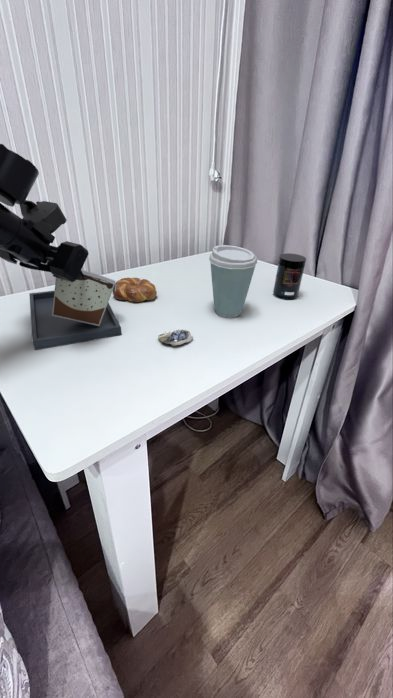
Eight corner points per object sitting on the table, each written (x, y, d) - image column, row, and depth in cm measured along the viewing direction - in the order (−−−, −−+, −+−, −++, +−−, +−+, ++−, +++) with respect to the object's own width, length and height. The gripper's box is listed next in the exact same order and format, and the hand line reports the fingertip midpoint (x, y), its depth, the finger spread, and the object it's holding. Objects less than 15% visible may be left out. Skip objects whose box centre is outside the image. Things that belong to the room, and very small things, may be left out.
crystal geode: (152, 342, 67) (151, 334, 66) (171, 326, 73) (171, 318, 72) (181, 351, 64) (181, 343, 63) (199, 333, 70) (199, 326, 69)
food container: (103, 321, 76) (114, 279, 74) (106, 327, 70) (118, 281, 68) (45, 308, 71) (55, 262, 69) (43, 313, 65) (54, 263, 63)
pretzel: (166, 294, 87) (166, 280, 85) (140, 308, 80) (139, 294, 78) (132, 283, 93) (131, 270, 91) (103, 296, 85) (102, 282, 83)
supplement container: (292, 290, 93) (300, 253, 88) (301, 300, 88) (310, 261, 82) (269, 290, 92) (275, 253, 87) (277, 300, 87) (284, 261, 81)
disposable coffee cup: (250, 305, 84) (258, 245, 76) (249, 325, 75) (259, 259, 67) (208, 301, 85) (212, 241, 77) (203, 320, 76) (206, 255, 68)
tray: (34, 350, 63) (32, 341, 62) (31, 300, 81) (29, 293, 80) (121, 334, 69) (120, 326, 68) (100, 292, 87) (99, 285, 86)
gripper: (69, 193, 50) (124, 248, 64) (-7, 180, 57) (58, 232, 72) (37, 258, 49) (100, 300, 63) (-36, 237, 56) (35, 278, 70)
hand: (72, 274), depth 67 cm, fingers closed on food container, 5 cm apart
